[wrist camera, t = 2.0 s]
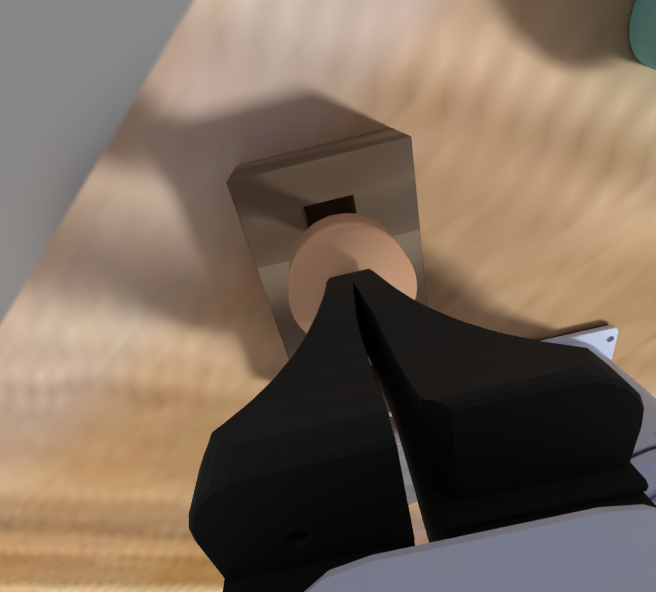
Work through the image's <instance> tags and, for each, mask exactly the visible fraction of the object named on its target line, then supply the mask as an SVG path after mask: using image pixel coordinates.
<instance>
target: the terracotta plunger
mask: <svg viewBox="0 0 656 592" xmlns="http://www.w3.org/2000/svg"><path fill="white" fill-rule="evenodd" d="M369 268H370V269H371V270H373V271H374V272H375V273H377V274H378V275H379V276H380V277H382V278H383V279H384V280H385V281H387V282H388V283H389V284H391V285H392V286H394V287H395V288H397V289H398V290H400V291H401V292H403V293H404V294H406V295H407V296H409V297H410V298H412V299H414V300H415V298H416V293H417V279H416V274H415V271H414V268H413V266H412V264H411V262H410V260H409V259H408V257H407V256H406V254H405V253H404V251H403V250H402V248H401V247H400V245H399V244H398V243H397V241H396V240H395V238H394V237H393V235H392V234H391V233H390V231H389V230H388V229H387V228H386V227H385V226H384V225H382V224H381V223H380V222H378V221H376V220H374V219H373V218H370V217H367V216H365V215H360V214H353V213H343V214H336V215H329V216H327V217H325V218H323V219H321V220H319V221H317V222H316V223H314V224H313V225H311V226H310V227H309V228H308V229H306V230H305V231H304V232H303V234H302V235H301V236H300V237H299V239H298V240H297V241H296V243H295V245H294V247H293V250H292V252H291V256H290V260H289V304H290V308H291V312H292V314H293V317H294V319H295V320H296V322H297V324H298V325H299V326H300V327H301V328H302V330H304V331H305V332H306V333H307V332H308V330H309V328H310V326H311V324H312V322H313V320H314V318H315V316H316V314H317V311H318V309H319V306H320V304H321V301H322V298H323V295H324V292H325V288H326V282H327V281H328V279H329V278H331V277H335V276H339V275H344V274H348V273H352V272H356V271H361V270H365V269H369Z"/></svg>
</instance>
